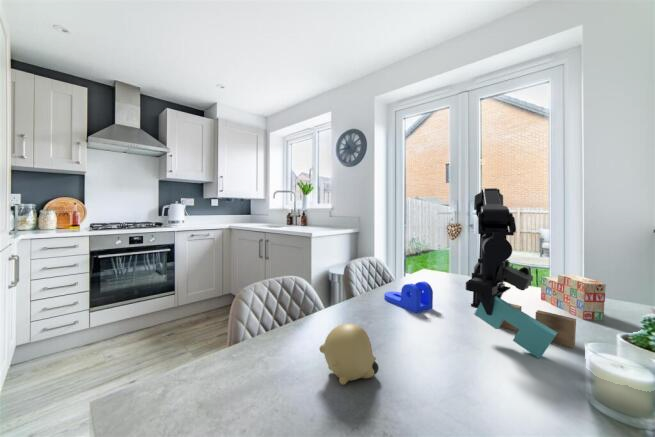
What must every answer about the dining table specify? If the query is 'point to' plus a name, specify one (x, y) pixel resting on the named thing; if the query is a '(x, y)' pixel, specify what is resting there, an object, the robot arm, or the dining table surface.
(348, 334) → the toy pig
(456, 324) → the dining table surface
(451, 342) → the dining table surface
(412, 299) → the bracket
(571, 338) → the walnut slotted board
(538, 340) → the teal slotted plate
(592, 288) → the stack of blocks
